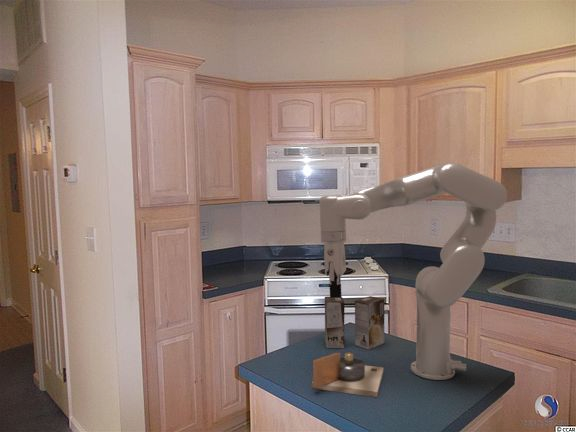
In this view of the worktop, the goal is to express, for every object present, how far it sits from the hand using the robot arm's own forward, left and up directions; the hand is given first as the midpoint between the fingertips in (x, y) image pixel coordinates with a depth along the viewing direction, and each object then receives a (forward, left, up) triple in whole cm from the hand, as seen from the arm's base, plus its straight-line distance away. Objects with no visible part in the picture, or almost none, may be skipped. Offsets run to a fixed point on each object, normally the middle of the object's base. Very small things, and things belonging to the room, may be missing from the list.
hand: (335, 296), depth 132 cm
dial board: (-5, +6, -23) cm, 24 cm away
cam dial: (-3, +10, -21) cm, 23 cm away
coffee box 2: (-7, -24, -23) cm, 34 cm away
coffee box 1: (+5, -21, -23) cm, 31 cm away
